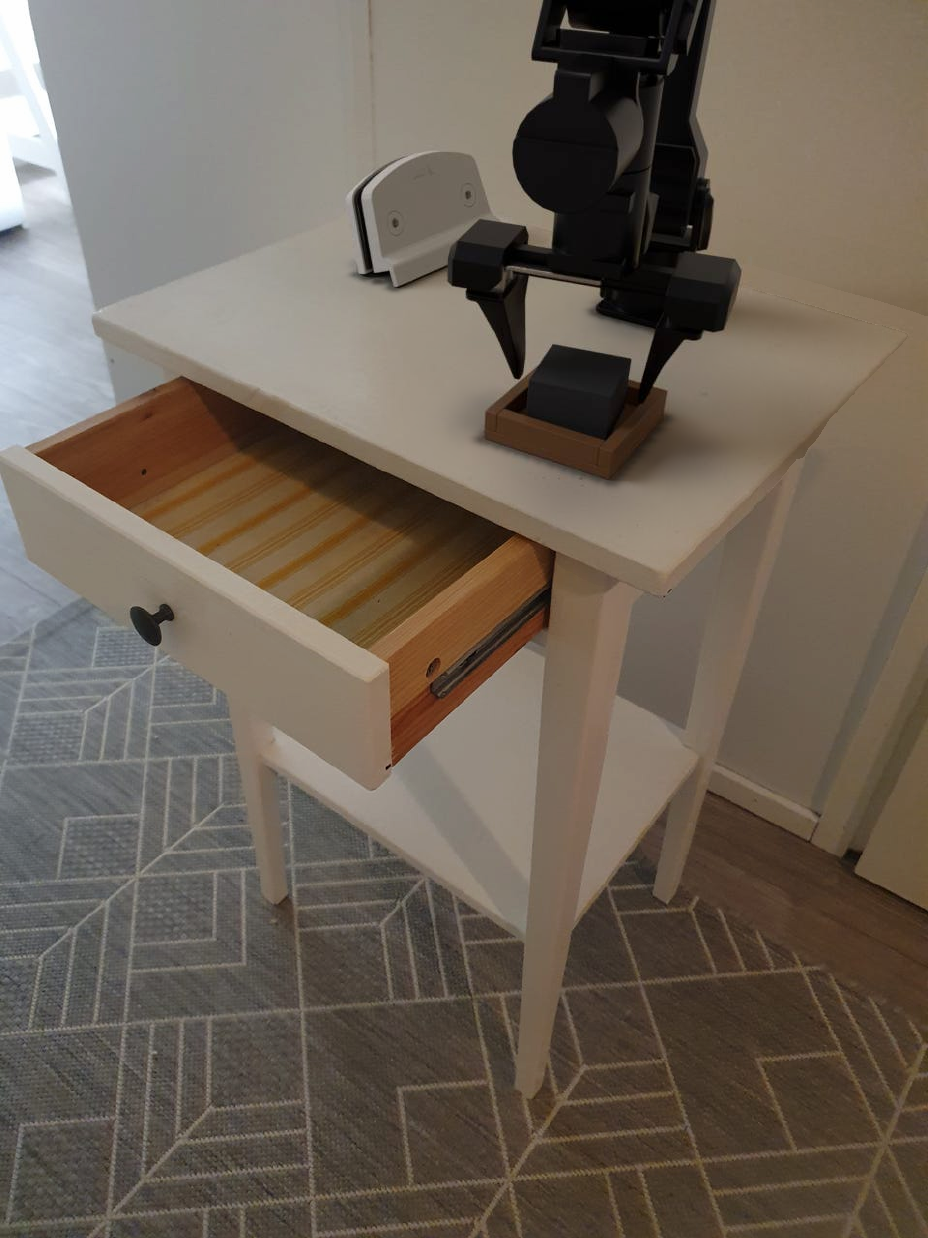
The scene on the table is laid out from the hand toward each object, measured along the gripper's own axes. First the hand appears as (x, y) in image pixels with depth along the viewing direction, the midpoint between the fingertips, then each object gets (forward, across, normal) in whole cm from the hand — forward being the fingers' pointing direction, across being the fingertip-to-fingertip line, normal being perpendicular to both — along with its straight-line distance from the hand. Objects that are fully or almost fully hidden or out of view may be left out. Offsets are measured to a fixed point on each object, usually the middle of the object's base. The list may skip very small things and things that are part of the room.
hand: (579, 388), depth 70 cm
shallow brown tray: (+3, 0, 0) cm, 3 cm away
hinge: (+3, +23, -27) cm, 35 cm away
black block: (+2, 0, 0) cm, 2 cm away
